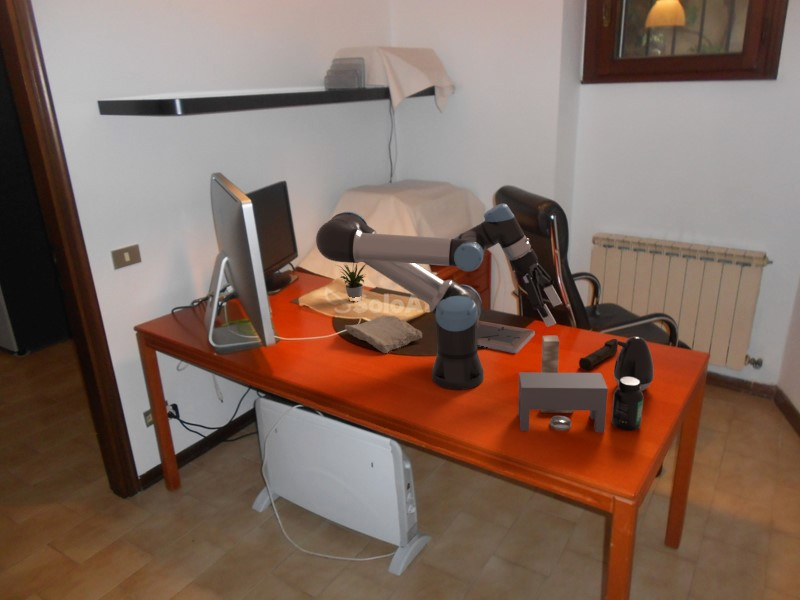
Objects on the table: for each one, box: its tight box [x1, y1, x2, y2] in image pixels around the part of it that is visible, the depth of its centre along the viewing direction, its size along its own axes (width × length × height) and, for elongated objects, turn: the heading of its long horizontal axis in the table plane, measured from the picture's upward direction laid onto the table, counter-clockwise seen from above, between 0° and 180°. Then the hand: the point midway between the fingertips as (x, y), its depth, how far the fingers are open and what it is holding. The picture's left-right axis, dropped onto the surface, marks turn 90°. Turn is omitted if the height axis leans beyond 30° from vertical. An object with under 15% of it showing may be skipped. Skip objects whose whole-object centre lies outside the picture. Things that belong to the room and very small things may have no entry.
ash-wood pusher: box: [540, 335, 574, 414], centre depth 162 cm, size 8×20×14 cm, turn 174°
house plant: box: [336, 262, 368, 298], centre depth 241 cm, size 14×14×16 cm
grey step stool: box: [517, 371, 609, 433], centre depth 148 cm, size 20×8×12 cm, turn 84°
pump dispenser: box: [613, 335, 655, 392], centre depth 163 cm, size 10×10×15 cm
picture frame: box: [477, 320, 536, 355], centre depth 201 cm, size 16×2×22 cm
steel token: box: [549, 415, 572, 432], centre depth 149 cm, size 5×5×2 cm
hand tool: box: [578, 338, 619, 371], centre depth 181 cm, size 19×4×5 cm, turn 130°
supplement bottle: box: [611, 377, 644, 432], centre depth 146 cm, size 7×7×12 cm
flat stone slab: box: [344, 315, 423, 354], centre depth 205 cm, size 24×8×20 cm
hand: (554, 314), depth 177 cm, fingers open, 13 cm apart
